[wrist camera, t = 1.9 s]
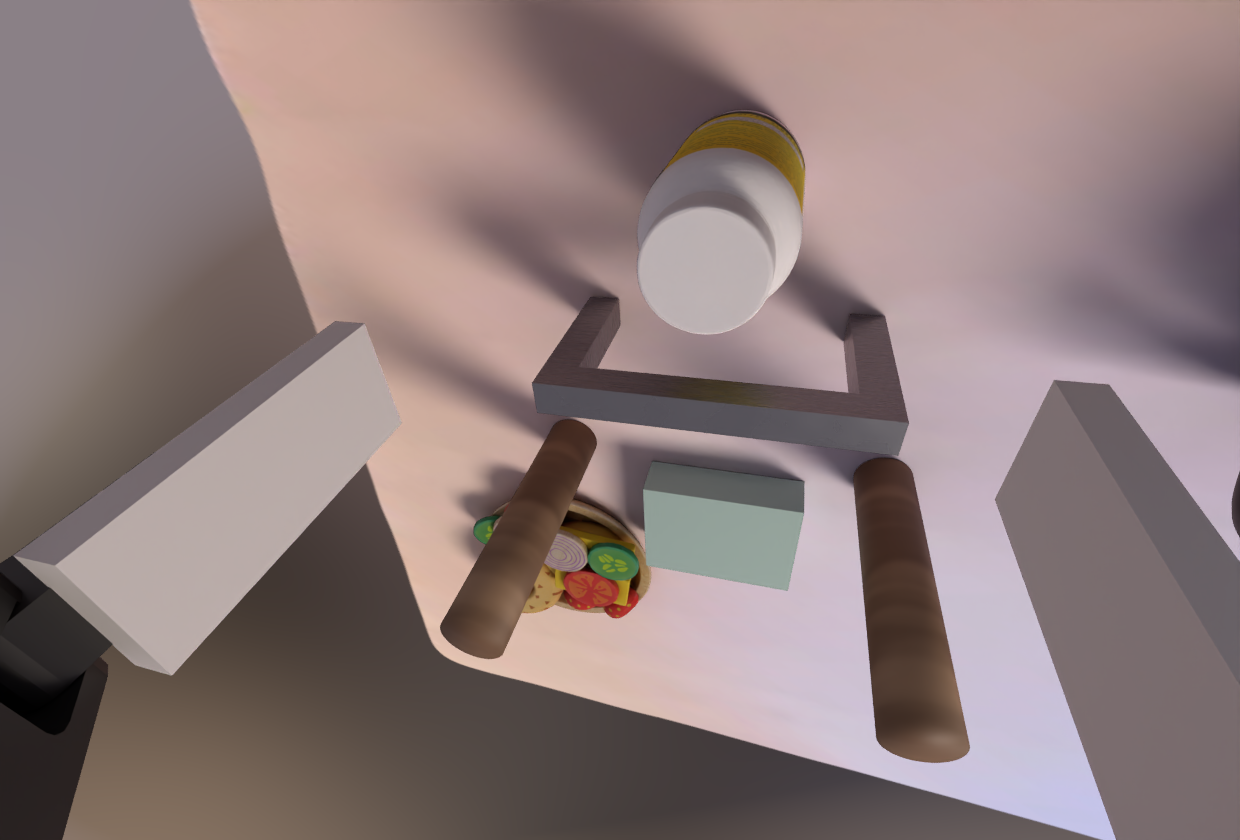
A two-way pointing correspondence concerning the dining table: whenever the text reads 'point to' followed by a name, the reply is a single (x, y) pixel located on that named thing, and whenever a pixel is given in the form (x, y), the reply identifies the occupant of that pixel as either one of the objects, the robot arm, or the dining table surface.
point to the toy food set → (585, 564)
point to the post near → (905, 621)
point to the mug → (1236, 506)
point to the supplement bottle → (722, 223)
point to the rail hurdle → (729, 392)
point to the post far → (519, 545)
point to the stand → (722, 523)
